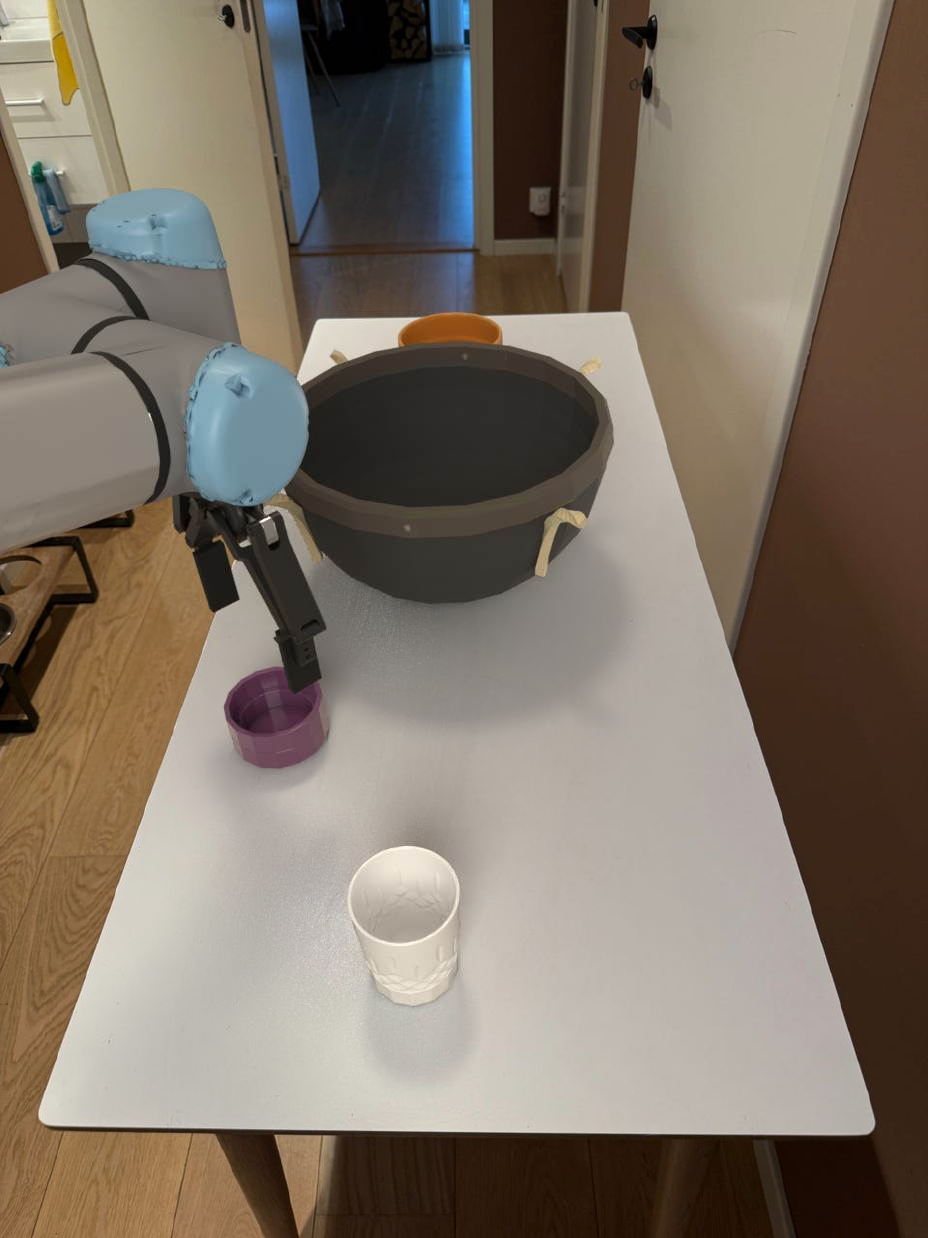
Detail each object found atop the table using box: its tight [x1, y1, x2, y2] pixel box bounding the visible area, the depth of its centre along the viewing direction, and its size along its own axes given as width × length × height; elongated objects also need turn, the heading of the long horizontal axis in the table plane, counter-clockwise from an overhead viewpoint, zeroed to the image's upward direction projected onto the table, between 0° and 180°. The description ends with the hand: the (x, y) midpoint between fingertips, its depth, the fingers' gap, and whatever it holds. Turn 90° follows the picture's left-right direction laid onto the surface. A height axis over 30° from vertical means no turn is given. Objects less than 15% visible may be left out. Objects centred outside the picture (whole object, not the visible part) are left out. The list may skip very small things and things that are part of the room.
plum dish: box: [223, 666, 330, 770], centre depth 88 cm, size 9×9×5 cm
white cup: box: [346, 845, 461, 1007], centre depth 68 cm, size 8×8×10 cm
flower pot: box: [397, 311, 504, 347], centre depth 129 cm, size 14×14×13 cm
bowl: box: [263, 341, 615, 605], centre depth 101 cm, size 35×35×20 cm
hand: (263, 642), depth 80 cm, fingers open, 13 cm apart
